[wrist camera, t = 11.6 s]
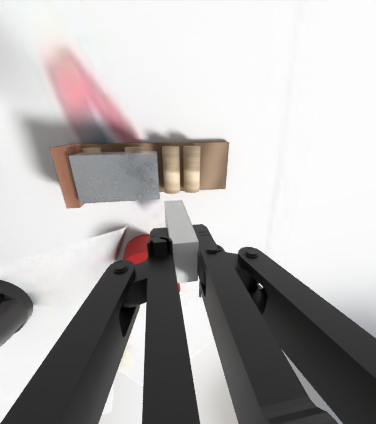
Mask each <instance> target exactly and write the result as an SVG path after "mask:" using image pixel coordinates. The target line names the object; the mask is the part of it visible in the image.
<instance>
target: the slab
mask: <svg viewBox="0 0 376 424" xmlns="http://www.w3.org/2000/svg"><path fill="white" fill-rule="evenodd" d="M69 160H70V164H71V169H72V173H73V177H74V181H75V185H76V189H77V193H78V197H79V201H80V203H98V202H116V201H134V200H152V199H160V194H159V179H158V163H157V151H131V152H79V153H76V154H72V155H69Z"/></svg>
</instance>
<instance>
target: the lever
mask: <svg viewBox="0 0 376 424" xmlns="http://www.w3.org/2000/svg"><path fill="white" fill-rule="evenodd" d="M148 240H150V235H141V236H138V237H135V238H134V239H132V240H131V241H130V242H129V243H128V244H127V246H126V249H125V252H124V257H123V260H128V261H131V262H133V263H134V265H135V264H138V263H141V262H143V261H145V260H146V259H147V258H148V249H147V242H148ZM178 289H179V292H180V284H179V283H178Z"/></svg>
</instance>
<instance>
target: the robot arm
mask: <svg viewBox="0 0 376 424" xmlns="http://www.w3.org/2000/svg"><path fill="white" fill-rule="evenodd" d="M164 202H165V221H166V228H155V229H153V230H152V231H151V232H150V240H148V242H147V249H148V258H147V259H146V260H145V261H143V262H141V263H138V264H135V265H134V263H133V262H131V261H128V260H120V261H117V262H114V263H113V264H111V265H110V266H109V267H108V268H107V269H106V271H105V272H104V274H103V275H102V277H101V278H100V280H99V281H98V283H97V284H96V285H95V287H94V288H93V290H92V291H91V293H90V294H89V296H88V297H87V299H86V300H85V301H84V303H83V304H82V306H81V307H80V309H79V310H78V312H77V313H76V315H75V316H74V317H73V319H72V320H71V322H70V323H69V325H68V326H67V328H66V329H65V330H64V332H63V333H62V335H61V336H60V338H59V339H58V341H57V342H56V344H55V345H54V346H53V348H52V349H51V351H50V352H49V354H48V355H47V357H46V358H45V360H44V361H43V362H42V364H41V365H40V367H39V368H38V370H37V371H36V373H35V374H34V376H33V377H32V378H31V380H30V381H29V383H28V384H27V386H26V387H25V389H24V390H23V392H22V393H21V394H20V396H19V397H18V399H17V400H16V402H15V403H14V405H13V406H12V407H11V409H10V410H9V412H8V413H7V415H6V416H5V418H4V419H3V421H2V422H1V423H0V424H98V423H99V420H100V417H101V415H102V412H103V409H104V406H105V403H106V401H107V398H108V395H109V392H110V389H111V387H112V384H113V381H114V378H115V375H116V372H117V370H118V367H119V364H120V361H121V358H122V356H123V353H124V350H125V347H126V344H127V342H128V339H129V336H130V333H131V330H132V328H133V325H134V322H135V319H136V316H137V314H138V311H139V308H140V304H143V303H145V302H147V304H146V332H145V359H144V386H143V413H142V424H200V420H199V415H198V408H197V401H196V395H195V390H194V383H193V376H192V370H191V364H190V357H189V351H188V345H187V339H186V332H185V326H184V320H183V314H182V307H181V301H180V295H179V289H178V283H183V282H191V281H198V276H199V279H200V283H199V297H201V294H202V298H203V301H204V305H205V308H206V312H207V315H208V319H209V322H210V326H211V329H212V333H213V336H214V340H215V343H216V347H217V350H218V354H219V357H220V360H221V364H222V367H223V371H224V374H225V378H226V381H227V385H228V388H229V392H230V395H231V399H232V402H233V406H234V409H235V412H236V416H237V420H238V423H239V424H338V423H337V422H336V420H335V419H334V418H332V416H331V415H330V414H329V413H328V412H326V411H324V410H322V409H320V408H318V407H316V406H315V405H314V403H313V402H312V401H311V400H310V398H309V397H308V395H307V393H306V392H305V390H304V388H303V386H302V384H301V383H300V381H299V379H298V377H297V376H296V374H295V372H294V370H293V369H292V367H291V366H290V364H289V362H288V360H287V358H286V357H285V355H284V353H283V352H282V350H283V351H284V352H285V354H286V355H287V356H288V357H289V359H290V360H291V361H292V362H293V363H294V365H295V366H296V367H297V368H298V370H299V371H300V372H301V373H302V374H303V376H304V377H305V378H306V379H307V380H308V382H309V383H310V384H311V385H312V386H313V388H314V389H315V390H316V391H317V393H318V394H319V395H320V396H321V397H322V399H323V400H324V401H325V402H326V403H327V405H328V406H329V407H330V408H331V409H332V411H333V412H334V413H335V414H336V415H337V417H338V418H339V419H340V420H341V422H343V424H376V338H374V337H373V336H372V335H371V334H369V333H368V332H366V331H365V330H364V329H363V328H361V327H360V326H359V325H357V324H356V323H355V322H353V321H352V320H351V319H349V318H348V317H347V316H345V315H344V314H343V313H342V312H340V311H339V310H338V309H336V308H335V307H334V306H332V305H331V304H330V303H328V302H327V301H326V300H324V299H323V298H322V297H320V296H319V295H317V294H316V293H315V292H314V291H312V290H311V289H310V288H309V287H307V286H306V285H304V284H303V283H302V282H301V281H299V280H298V279H297V278H295V277H294V276H293V275H291V274H290V273H289V272H287V271H286V270H285V269H284V268H282V267H281V266H280V265H278V264H277V263H276V262H274V261H273V260H272V259H270V258H269V257H268V256H266V255H265V254H264V253H262V252H261V251H260V250H258V249H255V248H252V247H243V248H241V249H240V250H239V252H238V254H234V253H227V252H225V251H224V249H223V248H222V247H221V246H219V245H217V244H216V243H215V242H214V240H213V238H212V236H211V234H210V232H209V230H208V229H207V227H206V226H204V225H203V224H200V225H192V224H191V221H190V219H189V216H188V214H187V211H186V209H185V206H184V204H183V201H182V200H180V201H164ZM259 283H260V284H261V285H262V286H263V288H262V287H261V286H260V285H259ZM32 312H33V303H32V301H31V299H30V297H29V296H28V295H27V293H25V292H24V291H23V290H22V289H21V288H19V287H17V286H16V285H14V284H11V283H9V282H6V281H3V280H0V346H2V345H3V344H4V343H5V342H6V341H7V340H8V339H9V338H10V337H11V336H12V335H13V334H15V333H16V332H18V331H19V330H20V329H21V328H22V327H23V326H24V325H25V324H26V322H27V321H28V319H29V318H30V316H31V314H32ZM281 349H282V350H281Z"/></svg>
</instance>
